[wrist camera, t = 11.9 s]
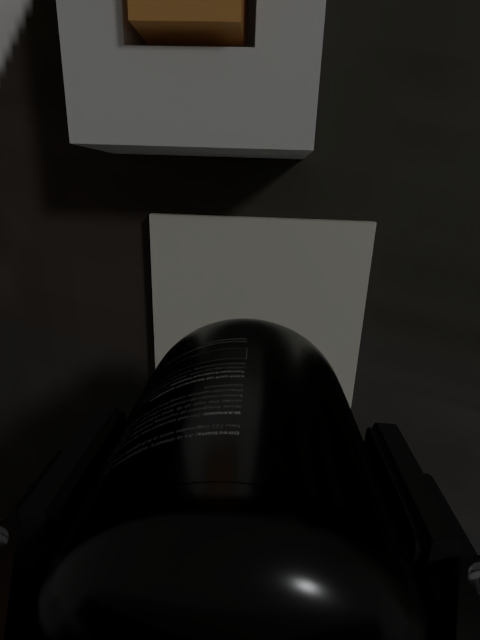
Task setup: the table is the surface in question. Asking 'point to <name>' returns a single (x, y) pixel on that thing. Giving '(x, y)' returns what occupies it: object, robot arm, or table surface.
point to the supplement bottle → (234, 510)
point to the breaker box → (193, 84)
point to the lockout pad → (263, 279)
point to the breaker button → (190, 22)
